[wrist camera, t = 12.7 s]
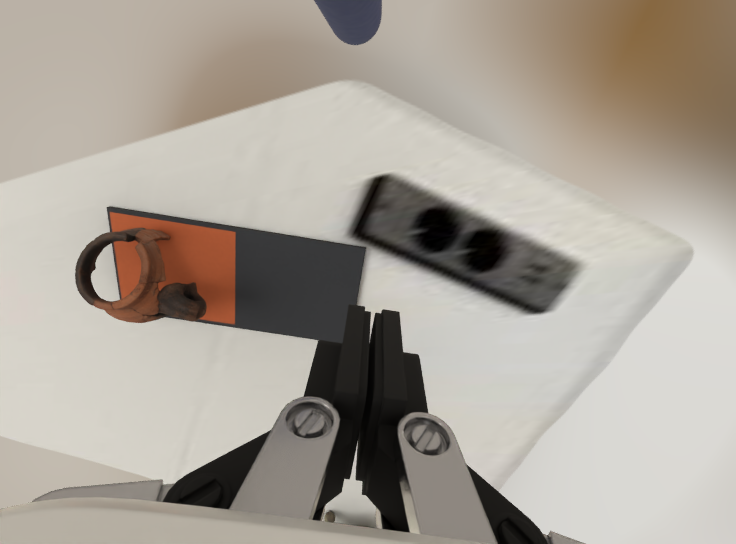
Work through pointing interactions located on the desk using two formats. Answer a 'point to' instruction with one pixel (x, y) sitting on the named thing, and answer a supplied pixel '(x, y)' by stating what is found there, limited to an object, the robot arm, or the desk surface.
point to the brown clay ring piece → (140, 282)
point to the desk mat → (249, 274)
